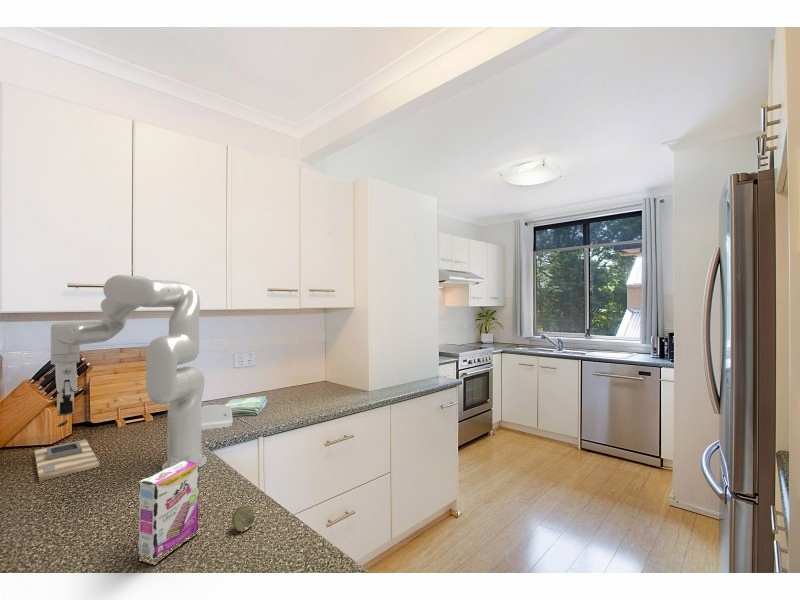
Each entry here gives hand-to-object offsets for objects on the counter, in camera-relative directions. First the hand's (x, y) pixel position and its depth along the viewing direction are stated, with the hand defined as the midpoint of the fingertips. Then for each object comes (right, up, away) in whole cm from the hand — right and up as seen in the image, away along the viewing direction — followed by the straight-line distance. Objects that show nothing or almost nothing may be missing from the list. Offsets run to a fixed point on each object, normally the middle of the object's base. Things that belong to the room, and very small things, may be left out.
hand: (65, 411), depth 131 cm
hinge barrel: (0, -1, 0) cm, 1 cm away
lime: (+78, -15, -42) cm, 90 cm away
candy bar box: (+65, -15, -49) cm, 83 cm away
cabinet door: (+3, -16, -3) cm, 16 cm away
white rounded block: (+35, -16, +32) cm, 49 cm away
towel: (+39, -16, +55) cm, 69 cm away
